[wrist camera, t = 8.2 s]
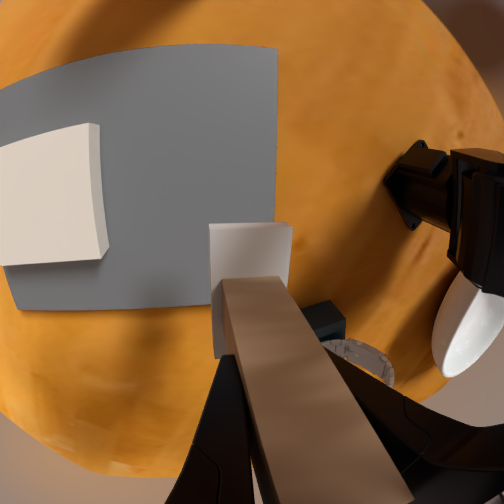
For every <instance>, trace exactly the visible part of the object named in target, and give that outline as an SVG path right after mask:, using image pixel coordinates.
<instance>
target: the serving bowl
mask: <svg viewBox="0 0 504 504" xmlns="http://www.w3.org/2000/svg"><path fill="white" fill-rule="evenodd" d="M503 325H504V298H503V297H500V296H497V295H494V294H487V293H482V292H481V289H479V288H476V287H475V286H474V285H473V284H472V283H471V282H470V281H469V280H467V279H466V278H465V277H464V276H463V273H462V272H461V271H460V272H459V273H458V275H457V276H456V278H455V279H454V281H453V282H452V284H451V286H450V288H449V289H448V291H447V293H446V295H445V297H444V299H443V301H442V304H441V306H440V308H439V311H438V314H437V316H436V320H435V323H434V327H433V333H432V354H433V358H434V361H435V363H436V365H437V367H438V369H439V370H440V372H441V374H442V375H443V376H444V377H453V376H456V375H458V374H460V373H461V372H463V371H464V370H466V369H467V368H468V367H470V366H471V365H472V364H473V363H474V362H475V361H476V360H477V359H478V358H479V357H480V356H481V355H482V354H483V353H484V352H485V351H486V349H487V348H488V347H489V346H490V344H491V343H492V342H493V340H494V339H495V338H496V336H497V335H498V333H499V332H500V330H501V328H502V327H503Z"/></svg>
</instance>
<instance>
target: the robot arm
mask: <svg viewBox="0 0 504 504" xmlns="http://www.w3.org/2000/svg"><path fill="white" fill-rule="evenodd" d="M421 144H422V146H421ZM389 180H390V183H388V182H389ZM383 182H384V186H385V188H386V189H387V191H388V193H389V194H390V196H391V198H392V200H393V201H394V203H395V205H396V207H397V208H398V210H399V212H400V214H401V216H402V218H403V220H404V221H405V223H406V225H407V227H408V229H409V230H411V231H414V230H415V229H416V228H417V227H418V226H419V224H420V223H421V222H422V221H425V222H427V223H429V224H431V225H433V226H436V227H438V228H440V229H442V230H444V231H446V232H449V233H450V241H449V249H448V250H447V257H448V258H449V259H450V260H451V261H452V262H453V263H454V264H455V266H456V267H457V268H458V269H459V270H460V271H461V272H462V273H463V276H464V277H465V278H466V279H467V280H469V281H470V282H471V283H472V284H473V285H474V286H475V287H476V288H479V289H481V292H482V293H487V294H494V295H497V296H500V297H503V298H504V154H503V153H500V152H498V151H493V150H487V149H480V148H469V149H453V150H450V155H447V154H446V152H445V151H440V150H434V149H428V147H427V145H426V143H425V141H424V140H418V141H417V142H416V143H415V144H414V145H413V147H411V148H410V149H409V150H408V151H407V152H406V154H405V155H404V156H403V157H402V158H401V159H400V160H399V161H398V163H397V165H396V166H395V167H394V168H393V169H392V170H391V171H390V173H389V174H388V175H387V176H386V177H385V178H384V181H383ZM322 346H323V345H322ZM323 347H324V346H323ZM324 349H325V351H326V352H327V354H328V356H329V357H330V359H331V360H332V362H333V364H334V365H335V367H336V369H337V370H338V372H339V373H340V375H341V377H342V378H343V380H344V382H345V383H346V385H347V386H348V388H349V390H350V391H351V393H352V395H353V396H354V398H355V400H356V401H357V403H358V405H359V406H360V408H361V409H362V411H363V413H364V414H365V416H366V418H367V419H368V421H369V423H370V424H371V426H372V428H373V429H374V431H375V433H376V434H377V436H378V438H379V439H380V441H381V443H382V444H383V446H384V448H385V449H386V451H387V453H388V454H389V456H390V458H391V459H392V461H393V463H394V465H395V466H396V468H397V470H398V471H399V473H400V475H401V476H402V478H403V480H404V481H405V483H406V485H407V487H408V488H409V490H410V492H411V493H412V495H413V497H414V500H413V501H411V502H409V503H408V504H504V424H499V425H494V426H488V427H475V426H470V425H467V424H464V423H462V422H459V421H456V420H454V419H452V418H449V417H447V416H444V415H441V414H439V413H437V412H435V411H433V410H431V409H429V408H426V407H424V406H423V405H421V404H419V403H417V402H415V401H413V400H411V399H410V398H408V397H406V396H403V394H401V393H399V392H397V391H396V390H394V389H392V388H391V387H389V386H387V385H386V384H384V383H382V382H381V381H379V380H377V379H376V378H374V377H372V376H371V375H369V374H367V373H366V372H364V371H362V370H361V369H359V368H358V367H356V366H354V365H353V364H351V363H349V362H348V361H346V360H345V359H343V358H341V357H340V356H338V355H337V354H335V353H334V352H332V351H330V350H329V349H327V348H326V347H324ZM165 504H255V500H254V490H253V479H252V469H251V458H250V446H249V435H248V423H247V410H246V398H245V390H244V387H243V383H242V379H241V376H240V372H239V369H238V365H237V362H236V358H235V355H234V354H228V355H222V356H221V359H220V362H219V365H218V368H217V371H216V374H215V377H214V380H213V383H212V386H211V388H210V391H209V394H208V397H207V400H206V403H205V406H204V409H203V412H202V415H201V418H200V421H199V424H198V427H197V430H196V433H195V436H194V439H193V442H192V445H191V447H190V450H189V453H188V456H187V458H186V461H185V463H184V466H183V468H182V471H181V473H180V475H179V477H178V479H177V481H176V483H175V485H174V487H173V489H172V491H171V493H170V495H169V496H168V498H167V500H166V502H165Z"/></svg>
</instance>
